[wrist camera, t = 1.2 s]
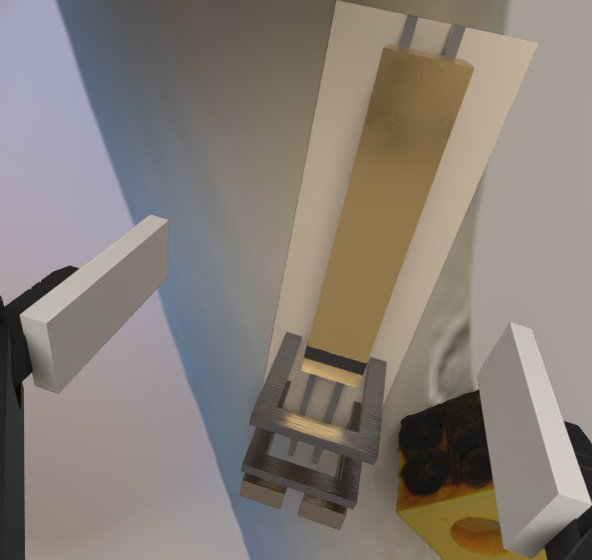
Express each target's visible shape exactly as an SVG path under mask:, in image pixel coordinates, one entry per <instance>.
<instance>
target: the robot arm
mask: <svg viewBox="0 0 592 560" xmlns="http://www.w3.org/2000/svg"><path fill="white" fill-rule="evenodd" d="M168 229H169V220H167V219H164V218H160V217H157V216H154V215H149V216H148V217H146V218H145V219H144V220H143V221H141V222H140V223H139V224H137V225H136V226H135V227H133V228H132V229H131V230H130V231H128V232H127V233H126V234H124V235H123V236H122V237H120V238H119V239H118V240H116V241H115V242H114V243H113V244H111V245H110V246H109V247H107V248H106V249H105V250H104V251H102V252H101V253H100V254H98V255H97V256H96V257H94V258H93V259H92V260H90V261H89V262H88V263H87V264H85V265H84V266H83V267H81V268H80V269H79V268H76V267H73V266H67V267H65V268H62V269H59V270H56V271H54V272H52V273H51V274H49V275H48V276H47V277H45V278H44V279H43V280H41V282H38V283H37V284H35V285H34V286H33V287H32V288H31V290H30V289H29V290H27V291H26V292H24V293H23V294H22V295H20V296H19V297H17V298H16V299H15V300H13V301H12V302H10V303H9V304H8V305H6V306H5V307H4V304H3V301H2V298H1V296H0V560H25V515H24V514H25V512H24V508H25V507H24V506H25V505H24V388H23V384H22V381H23V380H24V379H25V378H26V377H28V376H29V375H30V374H31V373H32V374H33V379H34V383H35V386H37V387H40V388H43V389H46V390H49V391H51V392H54V393H57V394H59V393H60V392H61V391H62V390H63V389H64V387H65V386H66V385H67V384H68V383H69V382H70V381H71V380H72V379H73V378H74V377H75V376H76V375H77V374H78V372H79V371H80V370H81V369H82V368H83V367H84V366H85V365H86V364H87V363H88V362H89V361H90V360H91V359H92V358H93V356H94V355H95V354H96V353H97V352H98V351H99V350H100V349H101V348H102V347H103V346H104V345H105V344H106V343H107V342H108V340H109V339H110V338H111V337H112V336H113V335H114V334H115V333H116V332H117V331H118V330H119V329H120V328H121V327H122V325H123V324H124V323H125V322H126V321H127V320H128V319H129V318H130V317H131V316H132V315H133V314H134V313H135V312H136V310H138V308H139V307H140V306H141V305H142V304H143V303H144V302H145V301H146V300H147V299H148V298H149V297H150V296H151V295H152V294H153V292H154V291H155V290H156V289H157V288H158V287H159V286H160V285H161V284H162V283H163V282H164V281H165V280H166V279H167V261H168ZM477 378H478V385H479V391H480V398H481V404H482V411H483V417H484V424H485V430H486V437H487V443H488V450H489V456H490V463H491V469H492V476H493V482H494V489H495V495H496V502H497V508H498V515H499V521H500V528H501V534H502V541H503V547H504V549H506V550H509V551H512V552H515V553H518V554H520V555H523V556H526V557H529V558H532V559H533V558H534V557H535V556H536V555H537V554H538V553H539V552H541V551H542V550H543V549H544V548H545V552H546V557H547V560H592V444H591V442H590V440H589V439H588V438H587V436H586V435H585V434H584V432H583V431H582V430H581V429H580V427H579V426H578V425H575V424H572V423H569V422H565V421H563V419H562V416H561V413H560V410H559V407H558V404H557V401H556V398H555V395H554V393H553V390H552V387H551V384H550V381H549V378H548V375H547V372H546V369H545V367H544V364H543V361H542V358H541V355H540V352H539V349H538V346H537V343H536V340H535V338H534V335H533V332H532V329H531V328H528V327H524V326H521V325H517V324H514V323H511V322H510V323H509V324H508V326H507V328H506V329H505V331H504V332H503V334H502V336H501V337H500V339H499V341H498V342H497V344H496V345H495V347H494V349H493V350H492V352H491V353H490V355H489V357H488V358H487V360H486V362H485V363H484V365H483V366H482V368H481V369H480V371H479V373H478V374H477Z"/></svg>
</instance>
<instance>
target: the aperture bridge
mask: <svg viewBox="0 0 592 560" xmlns="http://www.w3.org/2000/svg"><path fill="white" fill-rule="evenodd" d="M283 407H284V405H283ZM282 409H283V408H282ZM348 427H349V423H348V424H347V426H346V429H348ZM274 436H275V433H274V434H273V437H272V439H271V442H270V445H269V448H268V451H267V454H266V455H268V453H269V451H270V448H271V445H272V442H273V439H274ZM343 456H344V455H342V454H339V459H338V464H337V469H336V475H335V478H338V479H340V473H341V467H342V462H343ZM286 488H287V487H286V486H283V485H280V484H277V483H274V482H271V481H269V480H266V479H263V478H260V477H257V476H254V475H251V474H248V473H245V475H244V478H243V481H242V486H241V491H240V496H243V497H246V498H249V499H252V500H254V501H257V502H260V503H263V504H266V505H269V506H272V507H275V508H278V509H281V505H282V502H283V499H284V495H285V492H286ZM346 513H347V507H345V506H342V505H339V504H336V503H333V502H330V501H327V500H325V499H322V498H319V497H316V496H313V495H310V494H307V493H304V496H303V499H302V502H301V505H300V508H299V512H298V516H301V517H304V518H306V519H309V520H312V521H315V522H318V523H321V524H324V525H327V526H330V527H333V528H335V529H338V530H340V528H341V526H342V523H343V521H344V519H345V517H346Z"/></svg>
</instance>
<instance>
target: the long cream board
mask: <svg viewBox="0 0 592 560" xmlns="http://www.w3.org/2000/svg"><path fill="white" fill-rule="evenodd" d="M387 44H394V45H399V46H403V47H408V48H412V49H417V50H421V51H426V52H430V53H435V54H439V55H444V56H448V57H453V58H458V59H462V60H466V61H467V62H469V63H470V64H471V65H472V66H473V67H474V68H475V69H474V71H473V74H472V77H471V80H470V82H469V85H468V88H467V90H466V93H465V96H464V99H463V101H462V104H461V107H460V110H459V112H458V115H457V118H456V120H455V123H454V126H453V129H452V131H451V134H450V137H449V140H448V142H447V145H446V148H445V150H444V153H443V156H442V159H441V161H440V164H439V167H438V170H437V172H436V175H435V178H434V180H433V183H432V186H431V189H430V191H429V194H428V197H427V200H426V202H425V205H424V208H423V211H422V213H421V216H420V219H419V221H418V224H417V227H416V230H415V232H414V235H413V238H412V241H411V243H410V246H409V249H408V251H407V254H406V257H405V260H404V262H403V265H402V268H401V271H400V273H399V276H398V279H397V281H396V284H395V287H394V290H393V292H392V295H391V298H390V301H389V303H388V306H387V309H386V311H385V314H384V317H383V320H382V322H381V325H380V328H379V331H378V333H377V336H376V339H375V341H374V344H373V347H372V350H371V352H370V355H369V358H368V362H367V366H368V363H369V360H370V357H373V358H376V359H380V360H383V361H386V362H387V366H386V376H385V387H384V397H383V405H384V403H385V401H386V398H387V396H388V394H389V391H390V389H391V387H392V384H393V382H394V380H395V377H396V375H397V373H398V370H399V368H400V366H401V363H402V361H403V359H404V356H405V354H406V352H407V349H408V347H409V345H410V342H411V340H412V338H413V335H414V333H415V331H416V328H417V326H418V324H419V321H420V319H421V317H422V314H423V312H424V310H425V307H426V305H427V303H428V300H429V298H430V296H431V293H432V291H433V289H434V286H435V284H436V282H437V279H438V277H439V275H440V272H441V270H442V268H443V265H444V263H445V261H446V258H447V256H448V254H449V251H450V249H451V247H452V244H453V242H454V240H455V237H456V235H457V233H458V230H459V228H460V226H461V223H462V221H463V219H464V216H465V214H466V212H467V209H468V207H469V205H470V202H471V200H472V198H473V195H474V193H475V191H476V188H477V186H478V184H479V181H480V179H481V177H482V174H483V172H484V170H485V167H486V165H487V163H488V160H489V158H490V156H491V153H492V151H493V149H494V146H495V144H496V142H497V139H498V137H499V135H500V132H501V130H502V128H503V125H504V123H505V121H506V118H507V116H508V114H509V111H510V109H511V107H512V104H513V102H514V99H515V97H516V95H517V93H518V90H519V88H520V85H521V83H522V81H523V78H524V76H525V74H526V71H527V69H528V67H529V65H530V62H531V60H532V57H533V55H534V53H535V51H536V48H537V46H538V44H539V43H537V42H533V41H528V40H523V39H518V38H514V37H509V36H505V35H500V34H495V33H490V32H486V31H481V30H476V29H472V28H467V27H462V26H457V25H453V24H448V23H443V22H439V21H434V20H429V19H424V18H420V17H415V16H410V15H406V14H401V13H396V12H391V11H387V10H382V9H377V8H373V7H368V6H363V5H358V4H354V3H349V2H344V1H340V0H336V5H335V11H334V16H333V21H332V26H331V31H330V37H329V42H328V47H327V52H326V58H325V63H324V68H323V73H322V78H321V84H320V89H319V94H318V99H317V104H316V110H315V115H314V120H313V125H312V131H311V136H310V141H309V146H308V151H307V157H306V162H305V167H304V172H303V177H302V183H301V188H300V193H299V198H298V204H297V209H296V214H295V219H294V224H293V230H292V235H291V240H290V245H289V250H288V256H287V261H286V266H285V271H284V276H283V282H282V287H281V292H280V297H279V303H278V308H277V313H276V318H275V323H274V329H273V334H272V339H271V344H270V349H269V355H268V360H267V365H266V370H265V376H264V381H263V386H264V384H265V381H266V379H267V377H268V374H269V372H270V369H271V367H272V365H273V362H274V360H275V358H276V355H277V353H278V351H279V348H280V346H281V343H282V341H283V339H284V336H285V334H286V332H289V333H293V334H296V335H300V336H302V338H301V343H300V346H299V349H298V351H297V354H296V357H295V360H294V362H293V365H292V368H291V371H290V373H289V376H288V379H287V380H289V381H291V384H290V388H289V391H288V394H287V397H286V399H285V402H284V407H283V409H285V410H288V411H291V412H295V413H298V414H301V415H304V416H307V417H310V418H313V419H316V420H320V421H323V422H326V423H329V424H332V425H335V426H338V427H341V428H345V429H346V426H347V424H348V423H349V421H350V415H351V410H352V406H353V403H354V401H356V402H359V403H362V400H363V393H364V387H365V380H366V373H367V366H366V368H365V371H364V374H363V376H362V377H361V380H360V382H359V385H358V388H355V387H352V386H349V385H345V384H342V383H339V382H336V381H333V380H329V379H326V378H323V377H320V376H316V375H313V374H310V373H307V372H303V371H301V369H302V365H303V361H304V354H305V350H306V346H307V343H308V340H309V337H310V333H311V329H312V326H313V322H314V318H315V314H316V310H317V306H318V302H319V298H320V294H321V290H322V286H323V282H324V279H325V275H326V271H327V267H328V263H329V259H330V255H331V251H332V247H333V243H334V239H335V235H336V232H337V228H338V224H339V220H340V216H341V212H342V208H343V204H344V200H345V196H346V192H347V188H348V185H349V181H350V177H351V173H352V169H353V165H354V161H355V157H356V153H357V149H358V145H359V141H360V137H361V134H362V130H363V126H364V122H365V118H366V114H367V110H368V106H369V102H370V98H371V94H372V90H373V87H374V83H375V79H376V75H377V71H378V67H379V63H380V59H381V55H382V51H383V48H384V47H385V46H386V45H387ZM263 386H262V388H263ZM297 442H298V440H296V439H293V438H292V441H291V445H290V448H289V452H288V455H290V456H294V452H295V449H296V445H297ZM322 449H323V448H320V447H317V446H315V450H314V455H313V459H312V463H314V464H317V463H318V460H319V457H320V454H321V451H322Z"/></svg>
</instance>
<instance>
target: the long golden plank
mask: <svg viewBox="0 0 592 560" xmlns="http://www.w3.org/2000/svg"><path fill="white" fill-rule="evenodd" d="M474 69H475V68H474V67H473V66H472V65H471V64H470V63H469V62H467V61H466V60H462V59H458V58H453V57H448V56H444V55H439V54H435V53H430V52H426V51H421V50H417V49H412V48H408V47H403V46H399V45H394V44H387V45H386V46H385V47H384V48H383V51H382V55H381V59H380V63H379V67H378V71H377V75H376V79H375V83H374V87H373V90H372V94H371V98H370V102H369V106H368V110H367V114H366V118H365V122H364V126H363V130H362V134H361V137H360V141H359V145H358V149H357V153H356V157H355V161H354V165H353V169H352V173H351V177H350V181H349V185H348V188H347V192H346V196H345V200H344V204H343V208H342V212H341V216H340V220H339V224H338V228H337V232H336V235H335V239H334V243H333V247H332V251H331V255H330V259H329V263H328V267H327V271H326V275H325V279H324V282H323V286H322V290H321V294H320V298H319V302H318V306H317V310H316V314H315V318H314V322H313V326H312V329H311V333H310V337H309V340H308V343H307V346H306V350H305V354H304V361H303V365H302V369H301V371H303V372H307V373H310V374H313V375H316V376H320V377H323V378H326V379H329V380H333V381H336V382H339V383H342V384H345V385H349V386H352V387H355V388H358V385H359V382H360V380H361V377H362V376H363V374H364V371H365V368H366V366H367V362H368V358H369V355H370V352H371V350H372V347H373V344H374V341H375V339H376V336H377V333H378V331H379V328H380V325H381V322H382V320H383V317H384V314H385V311H386V309H387V306H388V303H389V301H390V298H391V295H392V292H393V290H394V287H395V284H396V281H397V279H398V276H399V273H400V271H401V268H402V265H403V262H404V260H405V257H406V254H407V251H408V249H409V246H410V243H411V241H412V238H413V235H414V232H415V230H416V227H417V224H418V221H419V219H420V216H421V213H422V211H423V208H424V205H425V202H426V200H427V197H428V194H429V191H430V189H431V186H432V183H433V180H434V178H435V175H436V172H437V170H438V167H439V164H440V161H441V159H442V156H443V153H444V150H445V148H446V145H447V142H448V140H449V137H450V134H451V131H452V129H453V126H454V123H455V120H456V118H457V115H458V112H459V110H460V107H461V104H462V101H463V99H464V96H465V93H466V90H467V88H468V85H469V82H470V80H471V77H472V74H473V71H474Z"/></svg>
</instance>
